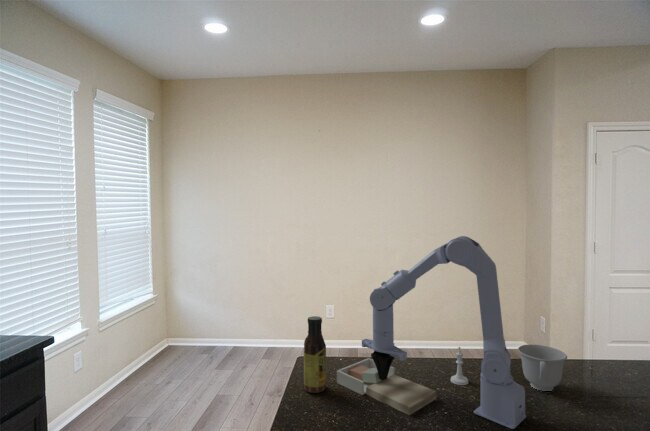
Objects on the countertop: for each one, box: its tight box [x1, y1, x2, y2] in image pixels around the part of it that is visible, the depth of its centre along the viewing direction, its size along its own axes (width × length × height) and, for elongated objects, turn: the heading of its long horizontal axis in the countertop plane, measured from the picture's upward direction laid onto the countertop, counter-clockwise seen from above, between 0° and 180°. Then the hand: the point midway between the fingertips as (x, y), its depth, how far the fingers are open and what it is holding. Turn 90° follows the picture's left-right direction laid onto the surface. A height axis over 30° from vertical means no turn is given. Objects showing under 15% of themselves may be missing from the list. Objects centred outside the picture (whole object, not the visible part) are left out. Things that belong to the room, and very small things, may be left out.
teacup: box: [517, 344, 568, 392], centre depth 103 cm, size 12×15×10 cm
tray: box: [336, 357, 395, 396], centre depth 109 cm, size 10×14×4 cm
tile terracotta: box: [349, 365, 370, 381], centre depth 110 cm, size 5×5×2 cm
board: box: [366, 373, 437, 416], centre depth 100 cm, size 14×12×2 cm
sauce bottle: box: [303, 315, 327, 394], centre depth 104 cm, size 7×6×20 cm
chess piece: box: [450, 346, 469, 386], centre depth 109 cm, size 5×5×10 cm
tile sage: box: [362, 368, 382, 383], centre depth 107 cm, size 5×5×2 cm
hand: (383, 378), depth 104 cm, fingers closed
